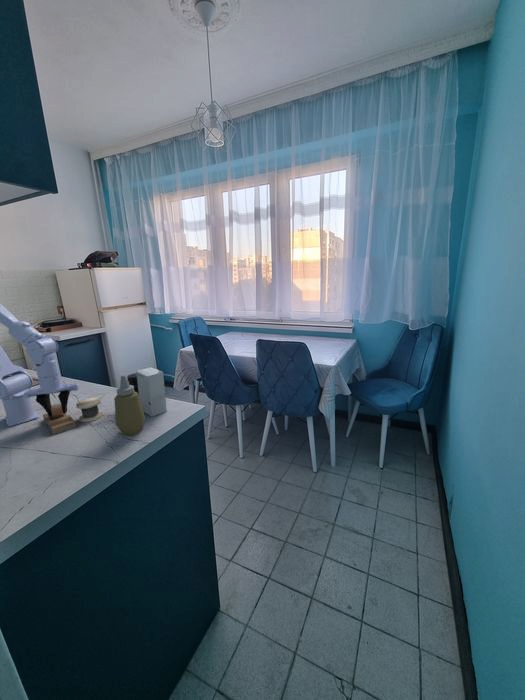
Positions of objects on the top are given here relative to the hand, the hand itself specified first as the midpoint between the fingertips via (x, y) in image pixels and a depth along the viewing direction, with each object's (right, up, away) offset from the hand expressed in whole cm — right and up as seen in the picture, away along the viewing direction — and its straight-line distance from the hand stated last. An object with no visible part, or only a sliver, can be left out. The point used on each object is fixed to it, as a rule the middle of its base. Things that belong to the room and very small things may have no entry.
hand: (58, 413), depth 96 cm
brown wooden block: (0, -3, +1) cm, 3 cm away
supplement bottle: (+23, 0, +9) cm, 25 cm away
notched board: (+1, -3, -1) cm, 3 cm away
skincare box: (+30, 0, +5) cm, 31 cm away
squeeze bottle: (+28, -4, -8) cm, 29 cm away
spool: (+10, -2, +2) cm, 10 cm away
